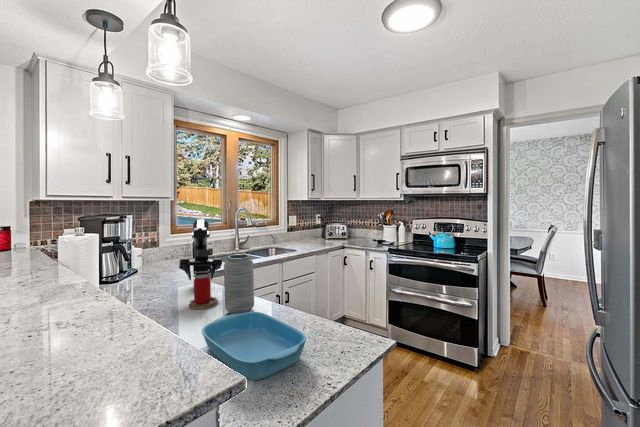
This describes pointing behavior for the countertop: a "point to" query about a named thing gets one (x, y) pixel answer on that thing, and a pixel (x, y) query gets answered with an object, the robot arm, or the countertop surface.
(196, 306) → the coaster
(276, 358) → the casserole dish
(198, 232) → the robot arm
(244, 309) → the vase
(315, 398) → the countertop surface
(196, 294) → the beverage can
